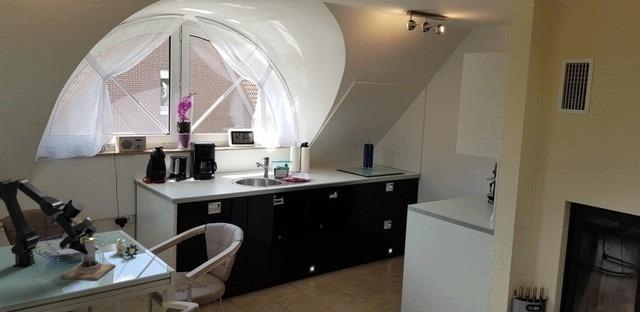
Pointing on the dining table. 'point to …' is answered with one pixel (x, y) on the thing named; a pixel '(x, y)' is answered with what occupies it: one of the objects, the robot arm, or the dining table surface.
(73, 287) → the dining table surface
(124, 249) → the valve
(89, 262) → the gray can
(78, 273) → the flange board
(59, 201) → the robot arm
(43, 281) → the dining table surface
